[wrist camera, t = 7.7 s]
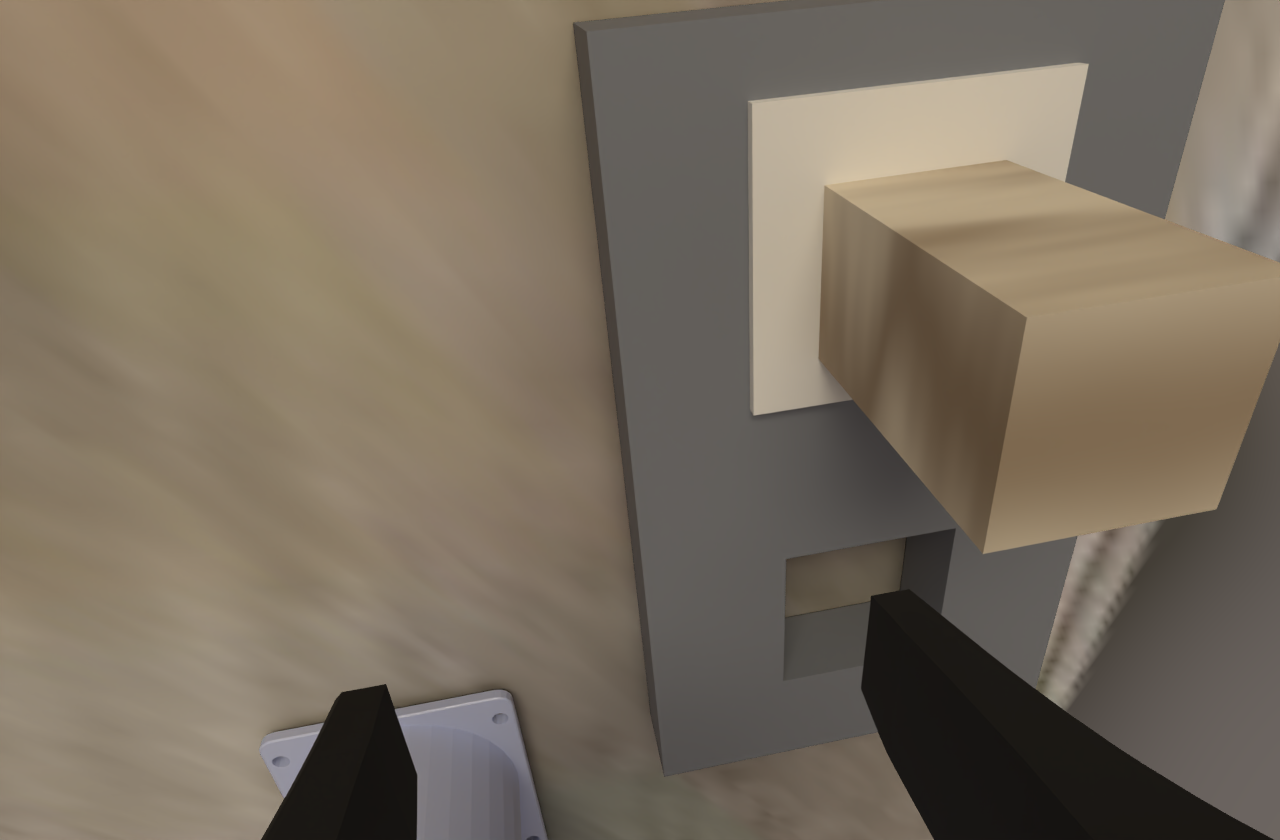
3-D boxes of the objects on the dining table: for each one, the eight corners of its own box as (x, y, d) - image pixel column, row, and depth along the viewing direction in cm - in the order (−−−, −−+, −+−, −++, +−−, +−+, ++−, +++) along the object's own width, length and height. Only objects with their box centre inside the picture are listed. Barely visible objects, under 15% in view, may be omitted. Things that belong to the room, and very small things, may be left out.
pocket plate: (992, 645, 29) (1037, 707, 26) (650, 713, 28) (666, 784, 25) (1143, -37, 17) (1247, -37, 15) (573, 22, 16) (588, 33, 14)
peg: (979, 332, 18) (1216, 509, 12) (818, 358, 18) (982, 554, 12) (1006, 159, 16) (1305, 272, 10) (824, 184, 16) (1027, 317, 10)
